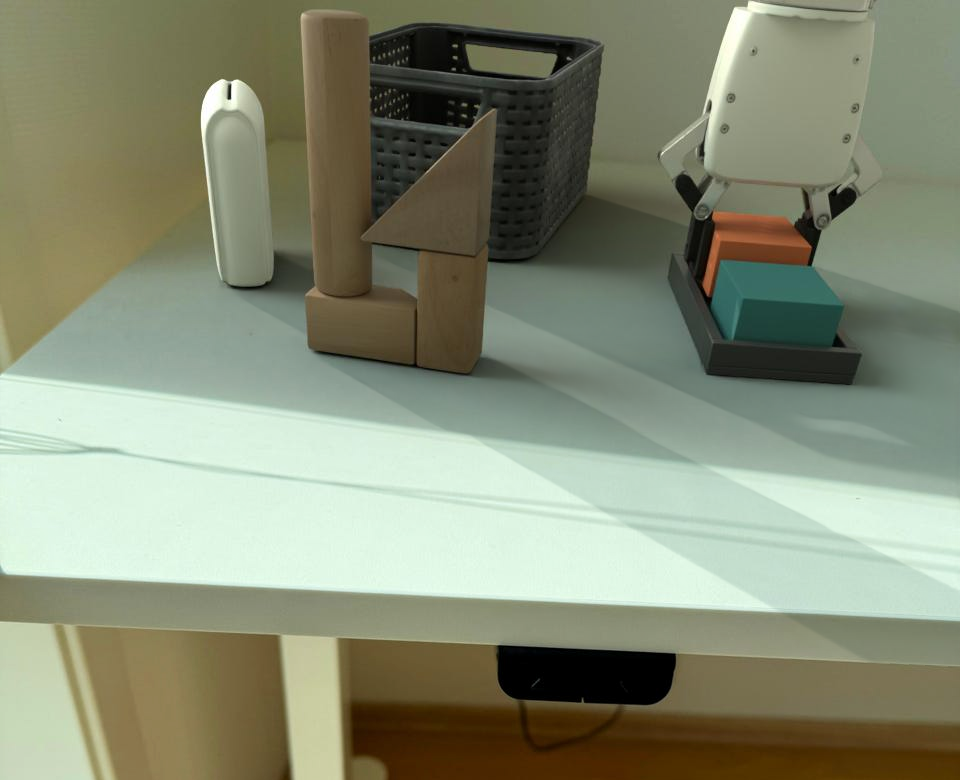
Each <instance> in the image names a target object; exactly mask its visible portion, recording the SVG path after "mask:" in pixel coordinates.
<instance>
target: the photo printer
mask: <svg viewBox="0 0 960 780" xmlns="http://www.w3.org/2000/svg"><path fill="white" fill-rule="evenodd" d="M263 111H264V110H263V107H262V104H261V102H260V100H259V98H258V96H257V94H256V93H255V92H254V90H253V89H252V88H251V87H250V86H249V85H248V84H246V83H245V82H243V81H242V80H240V79H233V81H229V80H226V79H224V78H223V79H222V78H221V79H220V80H218V81H216V82H214V83H213V84H212V85H211V86H210V87H209V89H207V91H206V93H205V96H204V98H203V101H202V105H201V112H200V113H201V114H200V129H201V139H202V140H201V141H202V149H203V158H204V167H205V176H206V185H207V194H208V203H209V210H210V211H209V212H210V218H211V219H210V221H211V229H212V237H213V245H214V251H215V260H216V266H217V270H218V274H219V277H220V281H222V282H224V283H227V284H228V285H229V286H233V287H242V288H243V287H260V286H264V285H265V284H266V282H270V281H271V280H272V278H273V275H274V269H275V267H274V263H275V255H274V254H275V253H274V251H275V249H274V237H273V235H274V234H273V225H272V210H271V198H270V185H269V172H268V171H269V170H268V158H267V144H266V127H265V116H264V112H263Z"/></svg>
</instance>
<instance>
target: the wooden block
mask: <svg viewBox="0 0 960 780" xmlns="http://www.w3.org/2000/svg"><path fill="white" fill-rule="evenodd" d="M300 34H301V54H302V55H301V56H302V67H303V68H302V72H303V74H302V75H303V89H304V90H303V91H304V92H303V93H304V108H305V109H304V110H305V111H304V112H305V128H306V129H305V131H306V147H307V148H306V149H307V166H308V167H307V168H308V169H307V170H308V188H309V189H308V190H309V202H310V203H309V209H310V225H311V228H310V229H311V244H312V245H311V247H312V262H313V263H312V265H313V279H314V280H313V281H314V282H313V283H314V287H312V288H311V289H309V291H307V293H305V296H304V301H305V302H304V303H305V304H304V305H305V321H306V339H307V347H308V349H309V350H312V351H318V352H325V353H331V354H332V353H333V354H336V355H337V354H338V355H344V356H352V357H358V358H363V359H365V358H366V359H370V360H378V361H383V362H384V361H385V362H391V363H397V364H404V365H411V366H412V365H414V364H416V365H417V366H418V367H420V368H424V369H425V368H427V369H433V370H439V371H444V372H445V371H446V372H453V373H459V374H465V375H466V374H470V373H471V372H472V370H473V369H474V366H475V365H476V363H477V361H478V360H479V358H480V357H481V355H482V353H483V341H484V340H483V339H484V325H485V323H484V322H485V309H486V295H487V294H486V293H487V277H488V263H489V262H488V261H489V260H488V245H487V243H486V242H487V240H488V239H489V229H490V213H491V197H492V182H493V166H494V150H495V134H496V119H497V110H496V109H492V110H491V111H490V112H488V113H487V114H486V115H485V116H483V117H482V118H481V119H479V120H478V121H477V122H476V123H475V124H474V125H473V126H472V127H471V128H470V129H469V130H468V131H467V132H466V133H465V134H464V135H463V136H462V137H461V138H460V139H459V140H458V141H457V142H456V143H455V144H454V145H453V146H452V147H451V148H450V149H449V150H448V151H447V152H446V153H445V154H444V155H443V156H442V157H441V158H440V159H439V160H438V161H437V162H436V163H435V164H434V165H433V166H432V167H431V168H430V169H429V170H428V171H427V172H426V173H425V174H424V175H423V176H422V177H421V178H420V179H419V180H418V181H417V182H416V183H415V184H414V185H413V186H412V187H411V188H410V189H409V190H408V191H407V192H406V193H405V194H404V195H403V196H402V197H401V198H400V199H399V200H398V201H397V202H396V203H395V204H394V205H393V206H392V207H391V208H390V209H389V210H388V211H387V212H386V213H385V214H384V215H383V216H382V217H381V218H380V219H379V220H378V221H377V222H376V223H374V224H373V225H372V215H371V139H370V101H371V98H370V89H371V86H370V63H369V62H370V59H369V35H370V22H369V19H368V16H366V15H364V14H363V13H360V12H357V11H351V10H341V9H326V8H325V9H323V8H321V9H319V8H318V9H308V10H306V11H303V12H301V16H300ZM373 243H374V244H380V245H381V244H382V245H389V246H396V247H402V246H403V247H402V248H409V247H411V248H410V249H415V248H419V249H418V250H419V251H418V253H417V293H416V295H417V297H416V296H414V295H412V294H411V293H409V292H408V291H406V290H405V289H403V288H399V287H391V286H386V285H385V286H384V285H378V284H377V285H376V284H373Z"/></svg>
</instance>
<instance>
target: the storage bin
mask: <svg viewBox="0 0 960 780" xmlns="http://www.w3.org/2000/svg"><path fill="white" fill-rule="evenodd" d="M454 45H456V46H454ZM466 45H470V46H478V47H488V48H496V49H504V50H514V51H523V52H532V53H542V54H550V55H551V54H552V55H556V59H555V61H554V64H553V67H552V69H551V71H550V74H549V75H548V76H538V75H537V76H536V75H528V74H520V73H510V72H502V71H494V70H483V69H477V68H473V67H472V66H471V63H470V60H469V55H468V52H467V47H466ZM604 51H605V43H604V42H603V41H601V40H599V39H595V38H589V37H582V36H575V35H574V36H573V35H563V34H553V33H544V32H543V33H542V32H536V31H535V32H534V31H527V30H526V31H525V30H515V29H508V28H507V29H506V28H499V27H490V26H489V27H488V26H479V25H471V24H470V25H469V24H462V23H455V22H454V23H452V22H439V21H438V22H431V21H426V22H425V21H423V22H421V21H420V22H410V23H405V24H403V25H398V26H396V27H393V28H388V29H386V30H383V31H379V32H376V33H373V34H369V63H370V139H371V215H372V225H373V224H374V223H376V222H377V221H378V220H379V219H380V218H381V217H382V216H383V215H384V214H385V213H386V212H387V211H388V210H389V209H390V208H391V207H392V206H393V205H394V204H395V203H396V202H397V201H398V200H399V199H400V198H401V197H402V196H403V195H404V194H405V193H406V192H407V191H408V190H409V189H410V188H411V187H412V186H413V185H414V184H415V183H416V182H417V181H418V180H419V179H420V178H421V177H422V176H423V175H424V174H425V173H426V172H427V171H428V170H429V169H430V168H431V167H432V166H433V165H434V164H435V163H436V162H437V161H438V160H439V159H440V158H441V157H442V156H443V155H444V154H445V153H446V152H447V151H448V150H449V149H450V148H451V147H452V146H453V145H454V144H455V143H456V142H457V141H458V140H459V139H460V138H461V137H462V136H463V135H464V134H465V133H466V132H467V131H468V130H469V129H470V128H471V127H472V126H473V125H474V124H475V123H476V122H477V121H478V120H479V119H481V118H482V117H483V116H485V115H486V114H487V113H488V112H490V111H491V110H492V109H496V110H497V119H496V134H495V150H494V166H493V182H492V197H491V213H490V229H489V239H488V240H487V242H486V243H487V245H488V261H492V260H494V259H495V260H519V259H525V258H526V259H527V258H530V257H533V256H535V255H537V254H538V253H539V252H540V251H541V250H542V248H544V246H545V245H546V244H547V242H548V241H549V240H550V238H551V237H552V236H553V235H554V233H555V232H556V231H557V229H558V228H559V227H560V226H561V224H562V223H563V222H564V221H565V219H566V218H567V217H568V216H569V214H570V213H571V212H572V211H573V209H574V208H575V207H576V206H577V204H578V203H579V202H580V201H581V199H582V198H583V196H584V195H585V194H586V193H587V192H588V181H589V170H590V167H591V157H592V151H591V150H592V147H593V143H594V142H593V141H594V139H593V138H594V131H595V130H594V127H595V123H596V114H597V113H596V112H597V102H598V100H599V88H600V77H601V74H602V62H603V52H604ZM454 57H456V58H454ZM568 58H569V59H568ZM462 104H466V105H462ZM477 106H479V107H477ZM463 115H465V116H466V117H465V116H463ZM401 248H404V247H403V246H401ZM409 248H410V249H412V248H411V247H408V249H409ZM414 249H416V250H420V249H419V248H414Z"/></svg>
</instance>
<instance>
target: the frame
mask: <svg viewBox="0 0 960 780" xmlns="http://www.w3.org/2000/svg"><path fill="white" fill-rule="evenodd" d="M669 261H670V262H669V266H668V273H667V277H666V278H667V280H668V283H669V285H670V288H671V291H672V293H673V295H674V297H675V300H676V302H677V303H676V304H677V305H678V308H679V310H680V312H681V315H682V318H683V320H684V322H685V325H686V327H687V330H688V333H689V335H690V337H691V340H692V342H693V344H694V347H695V350H696V352H697V355H698V356H699V359H700V361H701V364H702V367H703V370H704V371H705V374H706V375H714V376H715V375H716V376H728V377H743V378H744V377H746V378H758V379H759V378H760V379H772V380H787V381H800V382H801V381H802V382H813V383H814V382H816V383H828V384H829V383H830V384H840V385H841V384H845V385H853V383H854V380H855V376H856V373H857V371H858V368H859V365H860V362H861V358H862V356H863V353H862V351H861V350H860V349H859V347H857V345H856V344H855V342H854V341H853V340H852V338H851V337H850V336H849V335H848V333H847V331H845V329H844V328H843V326H842V325H841V324H840V323H839V325H838V328H837V331H836V335H835V338H834V341H833V344H832V347H824V346H810V345H795V344H781V343H767V342H753V341H739V340H725V339H723V338H722V336H721V334H720V332H719V330H718V328H717V326H716V324H715V321H714V319H713V317H712V315H711V313H710V308H711V303H712V299H713V298H709V297H708V296H707V294H706V292H705V290H704V288H703V286H702V284H701V282H700V280H699V278H694V276H693V274H692V272H691V270H690V268H689V262H685V261H684V252H683V251H672V252H671V256H670V260H669Z"/></svg>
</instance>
